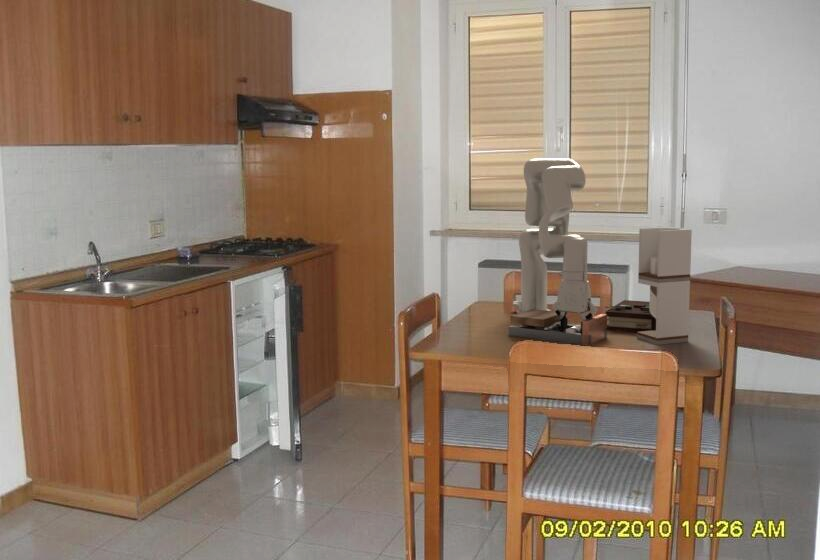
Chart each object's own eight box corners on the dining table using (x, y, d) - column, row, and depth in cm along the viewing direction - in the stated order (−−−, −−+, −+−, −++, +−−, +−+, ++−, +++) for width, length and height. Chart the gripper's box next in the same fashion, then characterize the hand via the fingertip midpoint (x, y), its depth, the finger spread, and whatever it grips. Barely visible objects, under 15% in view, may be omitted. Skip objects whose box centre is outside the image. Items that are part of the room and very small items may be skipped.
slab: (510, 323, 277) (510, 315, 277) (532, 316, 289) (532, 309, 289) (543, 326, 270) (543, 319, 270) (564, 319, 282) (564, 312, 282)
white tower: (666, 335, 276) (669, 227, 271) (688, 341, 266) (691, 229, 261) (636, 338, 272) (639, 228, 267) (657, 344, 262) (660, 230, 257)
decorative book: (676, 299, 301) (659, 313, 275) (676, 321, 302) (658, 336, 276) (622, 296, 310) (600, 309, 284) (621, 317, 311) (599, 332, 285)
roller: (562, 340, 271) (563, 327, 270) (573, 335, 277) (574, 323, 277) (573, 342, 269) (574, 329, 268) (584, 337, 275) (585, 325, 274)
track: (508, 335, 279) (508, 312, 278) (529, 328, 290) (529, 306, 289) (588, 345, 263) (588, 321, 261) (606, 337, 274) (607, 314, 273)
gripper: (544, 275, 272) (544, 331, 275) (595, 279, 262) (594, 337, 265) (555, 273, 278) (554, 327, 281) (605, 276, 268) (604, 333, 271)
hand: (574, 331), depth 273 cm, fingers open, 6 cm apart
